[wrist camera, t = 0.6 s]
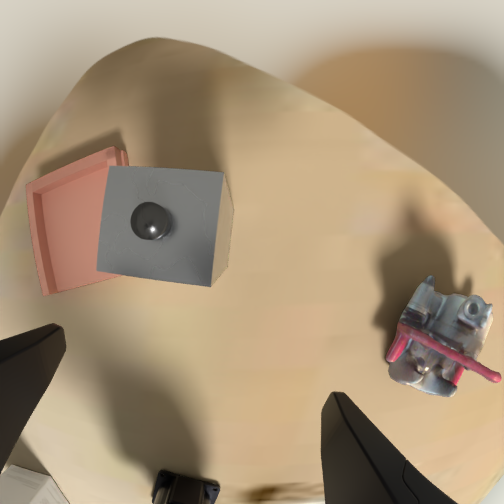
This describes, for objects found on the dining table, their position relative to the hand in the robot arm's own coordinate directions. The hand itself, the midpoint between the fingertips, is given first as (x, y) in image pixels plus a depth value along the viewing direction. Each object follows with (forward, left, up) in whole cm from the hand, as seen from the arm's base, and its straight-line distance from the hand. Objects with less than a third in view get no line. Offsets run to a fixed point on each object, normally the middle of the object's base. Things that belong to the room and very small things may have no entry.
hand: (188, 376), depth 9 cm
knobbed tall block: (+4, +3, -15) cm, 16 cm away
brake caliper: (+1, -19, -16) cm, 25 cm away
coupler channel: (+2, +13, -15) cm, 20 cm away
